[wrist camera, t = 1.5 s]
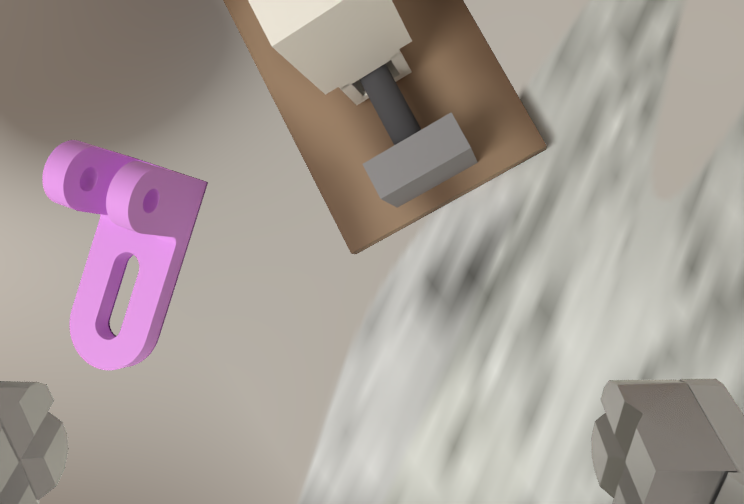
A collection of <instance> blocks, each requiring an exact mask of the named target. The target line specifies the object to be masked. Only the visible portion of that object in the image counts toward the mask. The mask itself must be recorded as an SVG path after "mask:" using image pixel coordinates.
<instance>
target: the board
mask: <svg viewBox="0 0 744 504" xmlns="http://www.w3.org/2000/svg"><path fill="white" fill-rule="evenodd" d="M223 1H224V3H225V5H226V7H227V8H228V10H229V12H230V14H231V16H232V18H233V20H234V22H235V24H236V26H237V28H238V30H239V32H240V34H241V36H242V38H243V40H244V42H245V44H246V46H247V48H248V49H249V52H250V54H251V56H252V58H253V60H254V62H255V64H256V66H257V68H258V70H259V72H260V74H261V76H262V77H263V80H264V82H265V84H266V85H267V88H268V90H269V92H270V94H271V96H272V97H273V99H274V102H275V104H276V105H277V107H278V109H279V111H280V113H281V115H282V117H283V119H284V121H285V123H286V125H287V127H288V129H289V131H290V133H291V135H292V137H293V139H294V141H295V143H296V145H297V147H298V149H299V151H300V153H301V155H302V157H303V159H304V161H305V163H306V165H307V167H308V169H309V171H310V173H311V175H312V177H313V179H314V181H315V183H316V185H317V187H318V189H319V190H320V193H321V194H322V197H323V198H324V200H325V202H326V204H327V206H328V208H329V210H330V212H331V214H332V216H333V218H334V220H335V222H336V224H337V226H338V228H339V230H340V232H341V234H342V236H343V238H344V240H345V242H346V244H347V246H348V248H349V250H350V252H351V253H352V254H357V253H359V252H361V251H363V250H365V249H366V248H368V247H370V246H372V245H374V244H375V243H377V242H379V241H381V240H383V239H384V238H386V237H388V236H390V235H392V234H393V233H395V232H397V231H399V230H401V229H403V228H405V227H406V226H408V225H410V224H412V223H413V222H415V221H417V220H419V219H421V218H423V217H424V216H426V215H428V214H430V213H432V212H433V211H435V210H437V209H439V208H441V207H443V206H444V205H446V204H448V203H450V202H452V201H453V200H455V199H457V198H459V197H461V196H462V195H464V194H466V193H468V192H470V191H472V190H473V189H475V188H477V187H479V186H481V185H482V184H484V183H486V182H488V181H490V180H491V179H493V178H495V177H497V176H499V175H501V174H502V173H504V172H506V171H508V170H510V169H511V168H513V167H515V166H517V165H519V164H520V163H522V162H524V161H526V160H528V159H530V158H531V157H533V156H535V155H537V154H539V153H540V152H542V151H544V150H546V144H545V142H544V140H543V139H542V137H541V135H540V134H539V132H538V130H537V128H536V127H535V125H534V123H533V121H532V120H531V118H530V116H529V114H528V113H527V111H526V109H525V107H524V106H523V104H522V102H521V100H520V99H519V97H518V95H517V93H516V92H515V90H514V88H513V86H512V85H511V83H510V81H509V80H508V78H507V76H506V74H505V73H504V71H503V69H502V67H501V66H500V64H499V62H498V61H497V59H496V57H495V55H494V53H493V52H492V50H491V48H490V46H489V45H488V43H487V41H486V39H485V38H484V36H483V34H482V33H481V31H480V29H479V27H478V26H477V24H476V22H475V20H474V19H473V17H472V15H471V13H470V12H469V10H468V8H467V6H466V5H465V3H464V1H463V0H392V2H393V4H394V6H395V8H396V10H397V12H398V14H399V16H400V18H401V20H402V22H403V24H404V26H405V28H406V30H407V32H408V34H409V36H410V38H411V40H412V42H410V43H409V44H407V45H405V46H404V47H402V48H400V51H401V53H402V55H403V57H404V59H405V60H406V62H407V64H408V66H409V68H410V69H411V71H412V72H411V73H410V74H408V75H406V76H405V77H403V78H401V79H400V80H398V81H396V83H397V85H398V87H399V89H400V91H401V93H402V94H403V96H404V98H405V100H406V102H407V104H408V106H409V107H410V109H411V111H412V113H413V115H414V117H415V118H416V120H417V122H418V124H419V126H420V128H421V130H422V129H423V128H425V127H427V126H429V125H430V124H432V123H434V122H435V121H437V120H439V119H441V118H442V117H444V116H446V115H447V114H449V113H451V112H452V114H453V116H454V118H455V120H456V121H457V123H458V125H459V127H460V129H461V130H462V132H463V134H464V136H465V138H466V139H467V141H468V143H469V145H470V147H471V149H472V151H473V153H474V155H475V157H476V160H477V162H478V163H476V164H474V165H473V166H471V167H469V168H467V169H466V170H464V171H462V172H460V173H458V174H457V175H455V176H453V177H451V178H450V179H448V180H446V181H444V182H442V183H441V184H439V185H437V186H435V187H433V188H432V189H430V190H428V191H426V192H425V193H423V194H421V195H419V196H417V197H416V198H414V199H412V200H410V201H408V202H407V203H405V204H403V205H401V206H400V207H398V208H397V207H395V206H393V205H391V204H389V203H387V202H385V201H383V200H382V199H380V197H379V195H378V193H377V191H376V189H375V187H374V185H373V183H372V182H371V180H370V178H369V176H368V174H367V172H366V170H365V168H364V166H363V163H365V162H367V161H369V160H370V159H372V158H374V157H375V156H377V155H379V154H381V153H382V152H384V151H386V150H387V149H389V148H391V147H393V146H394V144H393V142H392V140H391V138H390V136H389V134H388V133H387V131H386V129H385V127H384V125H383V123H382V121H381V119H380V118H379V116H378V114H377V112H376V110H375V108H374V106H373V104H372V103H371V101H370V99H369V98H368V99H367V100H365V101H363V102H362V103H360V104H358V105H356V104H355V103H354V102H353V101H352V100H351V99H350V98H349V97H348V96H347V95H346V94H345V93H344V92H343V91H342V90H341V89H340V88H339V87H337V88H336V89H334V90H332V91H331V92H329V93H327V94H326V95H325V94H324V93H323V92H322V91H321V90H320V89H319V88H317V87H316V86H315V85H314V84H313V83H312V82H311V81H310V80H308V79H307V78H306V77H305V76H304V75H303V74H302V73H301V72H300V71H298V70H297V69H296V68H295V67H294V66H293V65H292V64H291V63H289V62H288V61H287V60H286V59H285V58H284V57H283V56H282V55H281V54H279V53H278V52H277V51H276V50H275V49H274V48H273V47H272V46H271V44H270V42H269V40H268V38H267V36H266V34H265V33H264V31H263V29H262V27H261V25H260V23H259V21H258V19H257V17H256V15H255V13H254V11H253V9H252V7H251V5H250V3H249V1H248V0H223Z"/></svg>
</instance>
